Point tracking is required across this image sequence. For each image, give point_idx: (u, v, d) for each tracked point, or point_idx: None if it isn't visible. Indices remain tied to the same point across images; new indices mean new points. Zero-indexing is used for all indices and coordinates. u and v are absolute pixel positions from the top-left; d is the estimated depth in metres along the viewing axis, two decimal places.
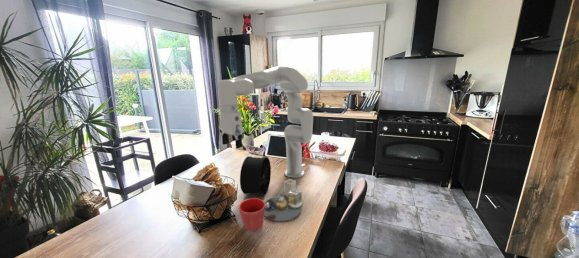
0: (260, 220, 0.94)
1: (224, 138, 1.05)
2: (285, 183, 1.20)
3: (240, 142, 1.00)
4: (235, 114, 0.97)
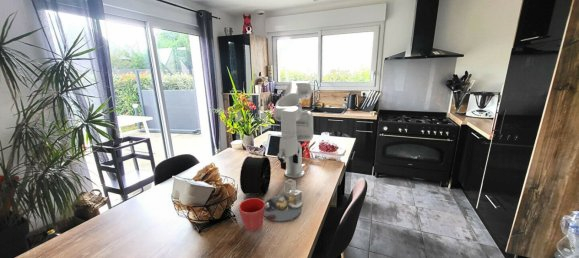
0: (260, 220, 0.94)
1: None
2: (285, 183, 1.20)
3: None
4: None
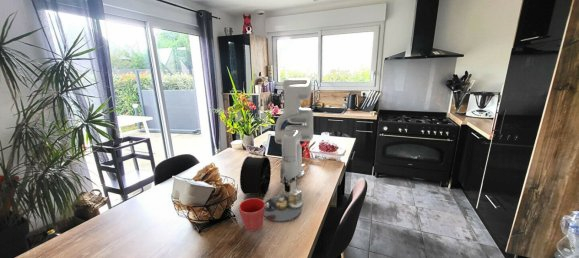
0: (260, 220, 0.94)
1: None
2: None
3: None
4: None
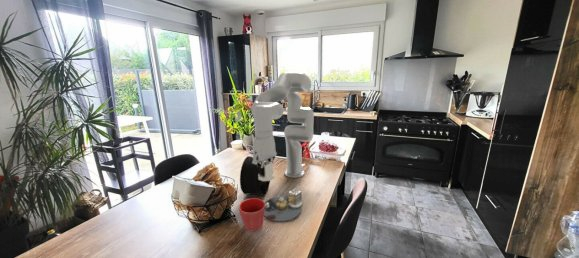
0: (260, 220, 0.94)
1: None
2: None
3: None
4: None
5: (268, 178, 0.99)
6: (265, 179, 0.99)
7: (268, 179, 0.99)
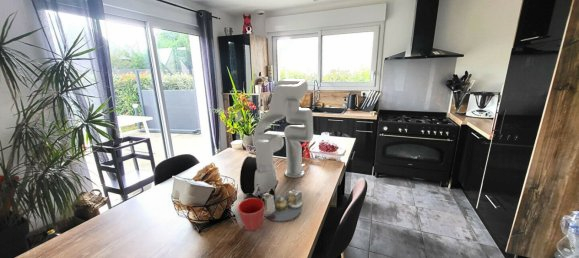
0: (260, 220, 0.94)
1: None
2: None
3: None
4: None
5: (269, 211, 1.03)
6: (266, 212, 1.03)
7: (269, 212, 1.03)
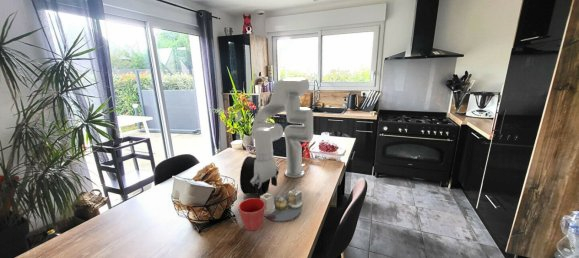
0: (260, 220, 0.94)
1: None
2: (261, 198, 1.04)
3: None
4: None
5: (269, 211, 1.03)
6: (266, 212, 1.03)
7: (269, 212, 1.03)
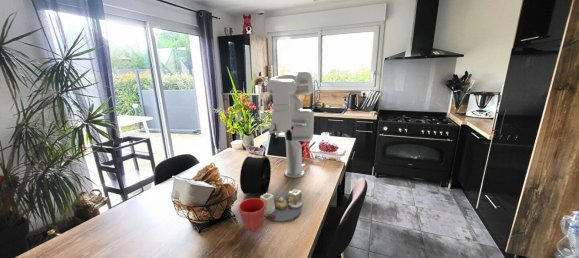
0: (260, 220, 0.94)
1: None
2: (261, 198, 1.04)
3: None
4: None
5: (269, 211, 1.03)
6: (266, 212, 1.03)
7: (269, 212, 1.03)
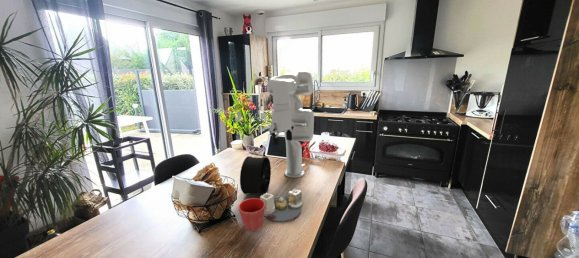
0: (260, 220, 0.94)
1: None
2: (261, 198, 1.04)
3: None
4: None
5: (269, 211, 1.03)
6: (266, 212, 1.03)
7: (269, 212, 1.03)
